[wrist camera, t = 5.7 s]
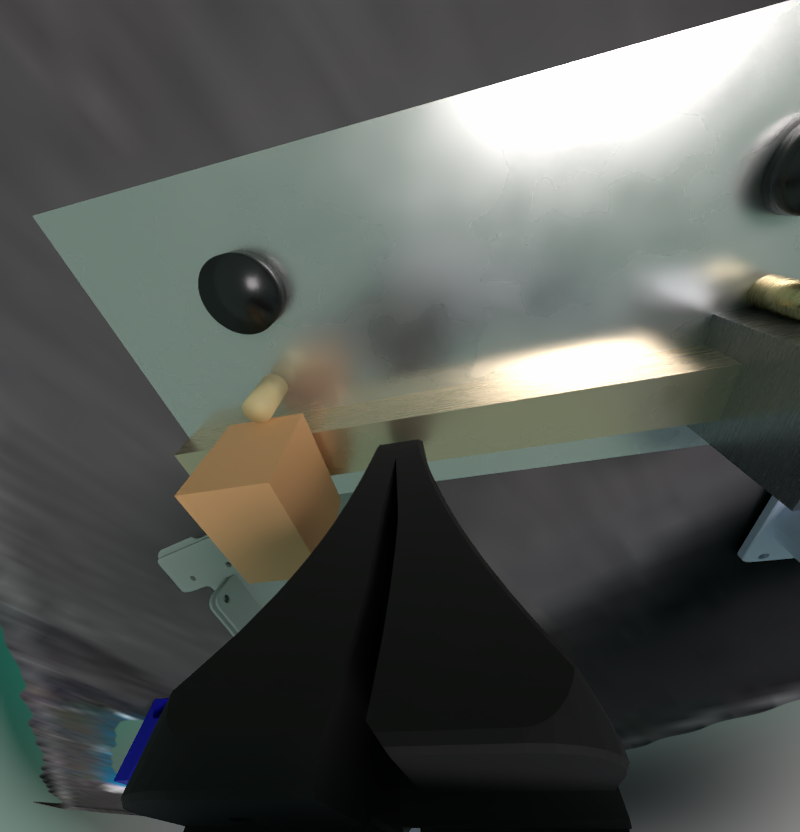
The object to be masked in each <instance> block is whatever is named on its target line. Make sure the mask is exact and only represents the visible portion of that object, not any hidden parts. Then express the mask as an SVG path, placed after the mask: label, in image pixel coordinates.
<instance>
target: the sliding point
mask: <svg viewBox="0 0 800 832" xmlns="http://www.w3.org/2000/svg"><path fill="white" fill-rule="evenodd" d="M287 391H288V385H287V383H286V381H285V380H284V379H283V378H282V377H280V376H278V375H275V374H269V375H266V376H265V377H264V378H263V379H262V380H261V381H260V383H259V384H258V385H257V386H256V388H255V389H254V390H253V391H252V393H251V394H250V395H249V396H248V397H247V399H246V400H245V401H244V402H243V404H242V411H243V413H244V415H245V416H246V417H247V418H248V419H249V420H251V421H252V422H247V423H241V424H235V425H230V426H229V427H228V428H227V430H226V431H225V432H224V433H223V435H222V436H221V437H220V438H219V440H218V441H217V442H216V444H215V445H214V446H213V447H212V449H211V450H210V451H209V452H208V454H207V455H206V456H205V458H204V459H203V460H202V461H201V463H200V464H199V465H198V466H197V468H196V469H195V470H194V472H193V473H192V474H191V475H190V477H189V478H188V479H187V481H186V482H185V483H184V484H183V486H182V487H181V488H180V489H179V491H178V492H177V493H176V495H175V497H176V499H177V500H178V501H179V502H180V503H181V505H182V506H183V507H184V508H185V509H186V510H187V512H188V513H189V514H190V515H191V516H192V518H193V519H194V520H195V521H196V522H197V524H198V525H199V526H200V527H201V528H202V529H203V531H204V532H205V533H206V534H207V535H208V537H209V538H210V539H211V540H212V541H213V542H214V544H215V545H216V546H217V547H218V548H219V550H220V551H221V552H222V553H223V554H224V555H225V557H226V558H227V559H228V560H229V561H230V563H231V564H232V565H233V566H234V567H235V568H236V570H237V571H238V572H239V573H240V574H241V576H242V577H243V578H244V579H245V580H246V582H247V583H248V584H251V583H261V582H271V581H281V580H289V579H290V578H291V577H292V576H293V575H294V573H295V572H296V571H297V570H298V569H299V567H300V566H301V565H302V564H303V563H304V562H305V560H306V559H307V558H308V557H309V556H310V554H311V553H312V552H313V550H314V549H315V548H316V547H317V545H318V544H319V543H320V541H321V540H322V539H323V537H324V536H325V535H326V533H327V532H328V530H329V529H330V528H331V526H332V525H333V523H334V522H335V520H336V519H337V517H338V512H339V508H340V503H341V498H340V496H339V493H338V491H337V489H336V487H335V484H334V482H333V480H332V478H331V475H330V473H329V471H328V469H327V466H326V464H325V462H324V460H323V457H322V455H321V453H320V451H319V448H318V446H317V444H316V442H315V439H314V437H313V435H312V433H311V430H310V428H309V426H308V424H307V421H306V419H305V417H304V415H303V413H299V414H294V415H288V416H282V417H276V418H271V417H272V416H273V414H274V412H275V411H276V409H277V408H278V406H279V404H280V403H281V401H282V400H283V398H284V396H285V395H286V393H287Z"/></svg>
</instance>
